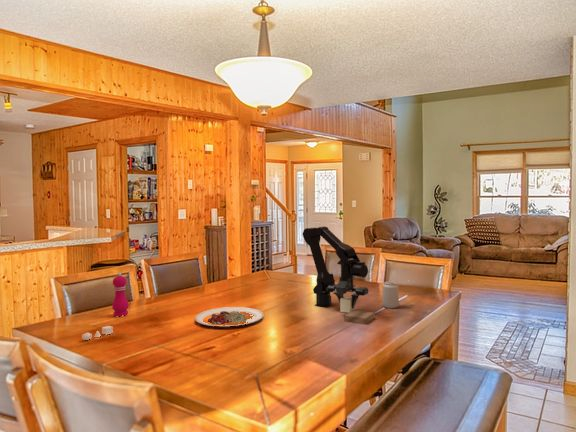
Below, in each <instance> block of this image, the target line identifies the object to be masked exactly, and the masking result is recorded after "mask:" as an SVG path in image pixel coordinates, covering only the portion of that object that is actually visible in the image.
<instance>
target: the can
mask: <svg viewBox="0 0 576 432" xmlns="http://www.w3.org/2000/svg"><path fill="white" fill-rule="evenodd" d="M399 289H400V287H399V285H398V282H396V281H392V280H391V281H388V280H387V281H384V282H383V285H382V306H383V307H384V308H386V309H397V308H398V307H399V306H400V303H399V302H400V301H399V298H400V297H399V294H400V292H399Z"/></svg>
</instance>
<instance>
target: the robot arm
mask: <svg viewBox="0 0 576 432" xmlns="http://www.w3.org/2000/svg"><path fill="white" fill-rule="evenodd" d="M302 237H303V239H304V242H305V244H307V245H308V246H309V248H310V252H311V255H312V260H313V262H314V265H315V268H316V269H315V270H316V274H317V275H316V276H317V277H316V280H315V281H316V285H315V286H314V287H313V289H312V290H313V294H316V296H315V297H316V298H315V299H316V303H315V304H314V306H317V307H323V308H327V307H330V306H331V305H332V304H333V303H332V296H331V293H332V294H333V295H335V296H336V297H337V300H338V302H339V303H340V299H341V298H343V297H345V296H344V294H347V292H349V293H352V294H351V295H350V296H351V297H352V309H353V308H354V306H355V307H356V303H357V301H358V298H359V296H361V297H362V296H366V295H368V294H369V288H368V287H367V286H359V287H355V284H354V279H355V277H357V278H358V277H359V278H366V277H367V276H368V274H369V268H368V266H367V265H366V262H365V261H361V260H360V258H359V257H358V254H357V253H356V250H355V248H353V247H352V246H351V245H350V244H346V243H344V242H342V240H340V239H339V238H338V237H337V236H336V235H335V234H334V233H333V232H332V231H331V230H330V229H329V228H328V226H319V227H306V228H304V229H303V232H302ZM321 238H322V239H324V240H325V242H327V243H328V244H329V246H331V247H332V248H333V250H335V254H336V255H337V257H338V259H339V261H338V262H337V265H340V277H339V281H338V282H337V283H335V282H336V280H335V278H334V274H333V273H330V272H329V271H328V269H327V268H328V267H327V265H326V262H325V258H324V256H323V252H322V248H321V245H320V243H321V242H320V241H321Z"/></svg>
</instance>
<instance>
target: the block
mask: <svg viewBox="0 0 576 432" xmlns="http://www.w3.org/2000/svg"><path fill="white" fill-rule="evenodd" d="M339 307H340V309H339V310H340V311H339V312H341V313H346V314H347V313H349V312H351V311H352V310H356V309H355V307H356V305H355V306H354V308H353V309H352V296H351V297H350V296H344V297H343V298H341V299H340V302H339Z"/></svg>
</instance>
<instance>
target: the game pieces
mask: <svg viewBox="0 0 576 432" xmlns="http://www.w3.org/2000/svg"><path fill="white" fill-rule="evenodd" d="M113 330H114V327H113V325H112V326H111V325H105V326H102V327H101V333H100V331H98V330H97V331H96V332H95V334H94V336H93V335H92V333H90V332H85V333H83V334H81V337H82V340H83V341H84V340H88V341H90V340H91V339H92V337H93V338H94V337H100V336H101V337H102V334H106V335H107V334H111V333H113V334H114V331H113ZM106 335H105V336H106ZM111 335H112V334H111ZM89 339H90V340H89Z"/></svg>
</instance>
